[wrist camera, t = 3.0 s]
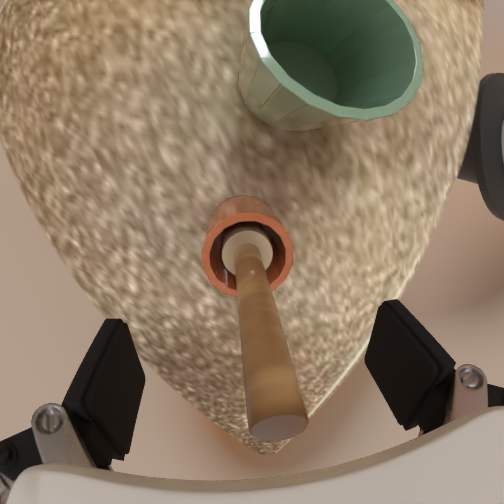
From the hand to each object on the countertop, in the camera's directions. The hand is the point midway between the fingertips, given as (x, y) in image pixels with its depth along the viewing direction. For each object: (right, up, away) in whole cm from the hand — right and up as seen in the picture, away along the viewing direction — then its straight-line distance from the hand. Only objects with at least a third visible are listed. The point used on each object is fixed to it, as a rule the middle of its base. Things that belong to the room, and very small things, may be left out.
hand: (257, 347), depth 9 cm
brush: (-1, +5, +12) cm, 13 cm away
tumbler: (+3, +16, +9) cm, 19 cm away
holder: (-1, +5, +13) cm, 14 cm away
